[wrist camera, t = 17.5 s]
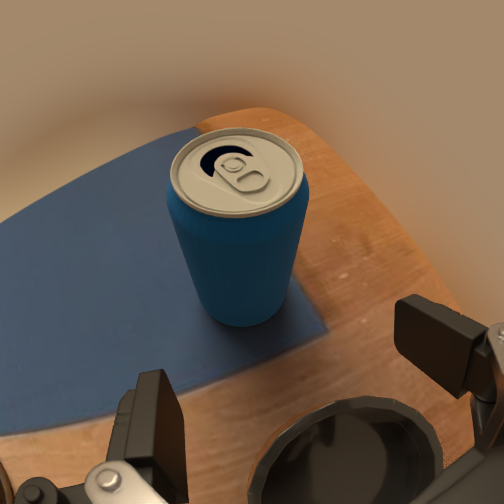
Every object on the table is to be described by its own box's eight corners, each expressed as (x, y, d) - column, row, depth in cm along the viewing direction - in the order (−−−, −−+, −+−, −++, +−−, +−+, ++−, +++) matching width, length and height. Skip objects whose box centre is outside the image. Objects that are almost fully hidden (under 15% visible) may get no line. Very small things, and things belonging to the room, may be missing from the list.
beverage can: (249, 239, 24) (248, 110, 14) (303, 294, 22) (344, 174, 12) (183, 282, 22) (137, 160, 12) (234, 348, 20) (216, 256, 9)
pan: (284, 569, 10) (291, 594, 7) (222, 440, 16) (215, 446, 13) (430, 494, 12) (460, 501, 9) (379, 373, 18) (404, 361, 15)
